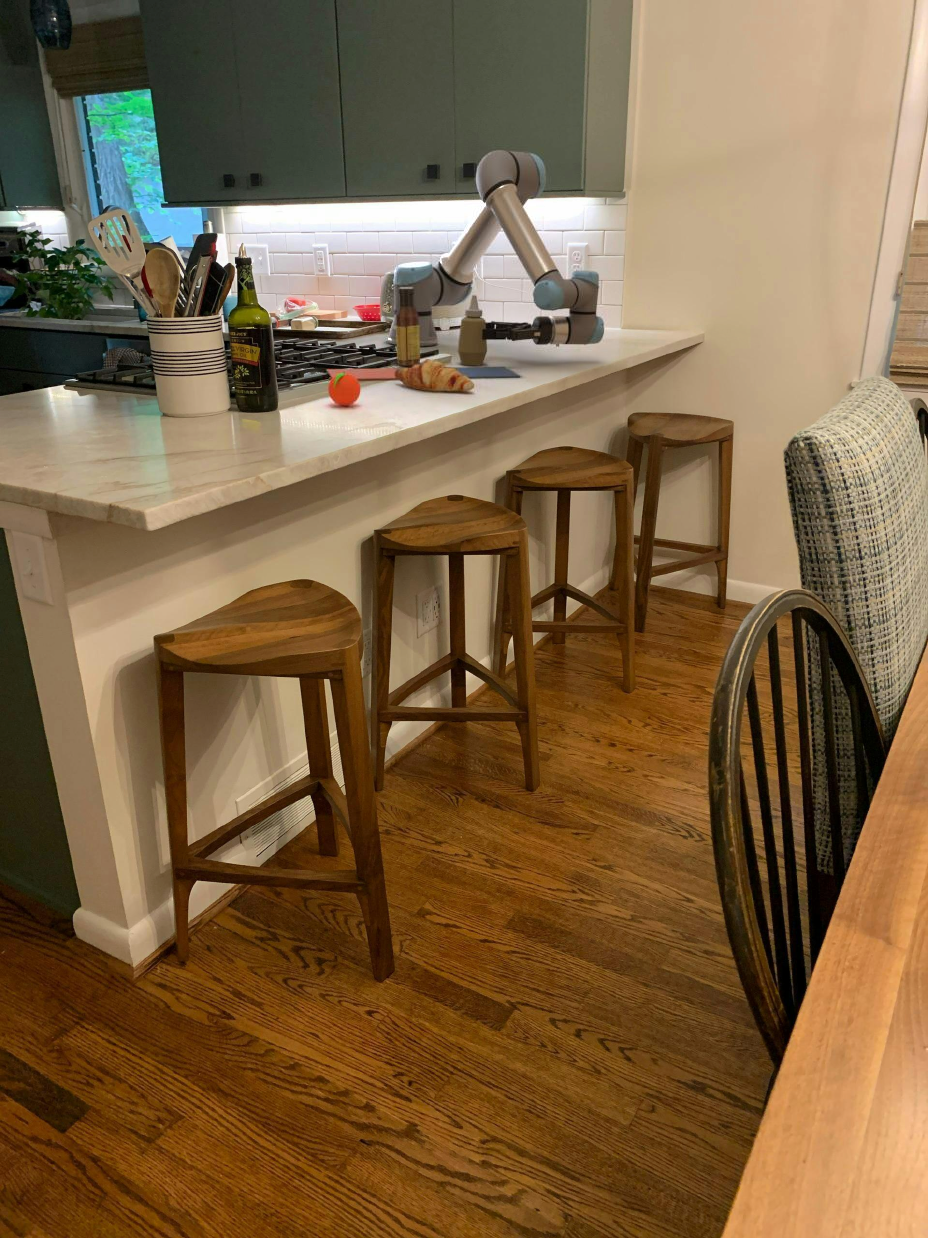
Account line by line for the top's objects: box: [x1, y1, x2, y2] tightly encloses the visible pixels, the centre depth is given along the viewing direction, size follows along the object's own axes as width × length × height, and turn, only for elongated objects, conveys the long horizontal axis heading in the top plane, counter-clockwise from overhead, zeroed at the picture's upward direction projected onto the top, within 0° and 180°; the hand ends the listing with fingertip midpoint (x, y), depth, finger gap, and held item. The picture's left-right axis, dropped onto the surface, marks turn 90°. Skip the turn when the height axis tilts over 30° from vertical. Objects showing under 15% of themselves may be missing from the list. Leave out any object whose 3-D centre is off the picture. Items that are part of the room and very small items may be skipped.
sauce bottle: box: [396, 287, 421, 367], centre depth 248 cm, size 7×6×20 cm
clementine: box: [327, 372, 362, 407], centre depth 200 cm, size 8×7×7 cm
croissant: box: [395, 358, 475, 392], centre depth 221 cm, size 21×10×8 cm, turn 66°
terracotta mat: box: [325, 367, 399, 381], centre depth 236 cm, size 14×18×1 cm
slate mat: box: [455, 366, 521, 379], centre depth 244 cm, size 14×18×1 cm
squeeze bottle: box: [457, 294, 488, 367], centre depth 253 cm, size 8×8×18 cm
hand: (475, 330), depth 253 cm, fingers open, 13 cm apart
